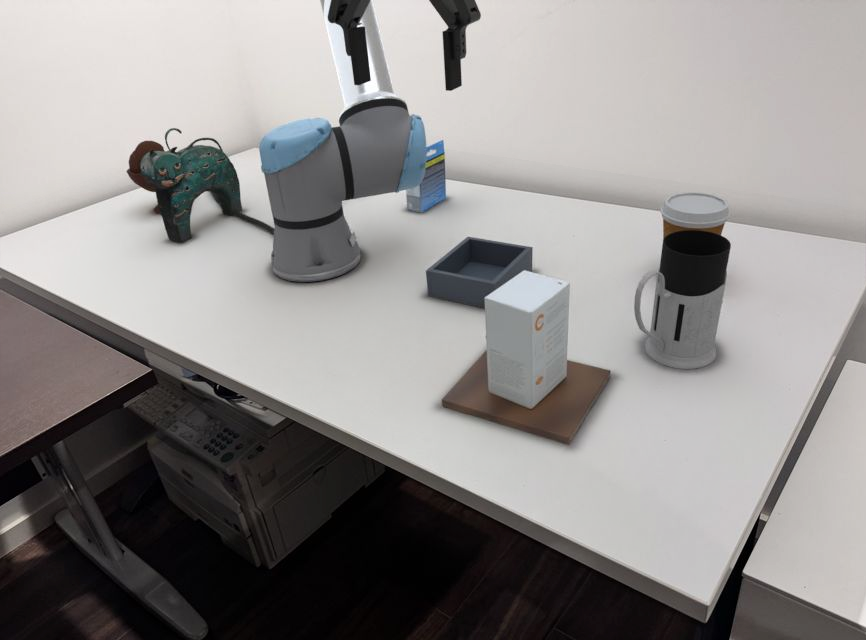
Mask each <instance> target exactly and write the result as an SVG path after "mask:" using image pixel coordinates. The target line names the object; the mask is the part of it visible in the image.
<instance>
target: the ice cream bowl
mask: <svg viewBox="0 0 866 640" xmlns="http://www.w3.org/2000/svg"><path fill="white" fill-rule="evenodd" d="M151 149H152V150H153V151H165V148H164V146H163V145H162V144H160V143H159V142H156V141H154V140H144V141H141V142H139V143H138V144H137V146H136V147H135V149H134V150H133V151H132V152H131V154H130V156H129V158H128V167H129V168H127V170H126V173H127V175H128V177H129V178H130V180H131V181H132V182H133V183H134V184H135V185H137V186H138V187H140V188H142V189H143V190H145V191H148V192H151V193H156V190H155V188H154V187H153V186H151V185H150V184H148V183H147V182H146V181H145V180H144V178H143V176H142V173H141V166H140V164H141V160H142V158H143V157H144V156H145V155H146V154H147V153H148V152H150V151H151ZM153 213H155V214H157V215H161V213H160V211H159V207H158V204H157V205H156V206H155V207H154V208H153Z"/></svg>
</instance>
